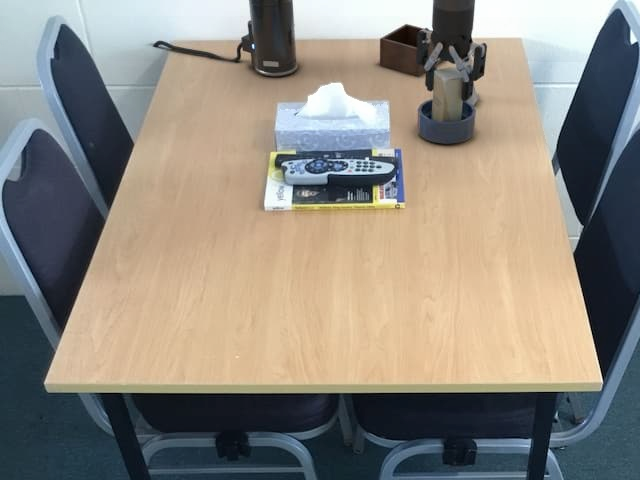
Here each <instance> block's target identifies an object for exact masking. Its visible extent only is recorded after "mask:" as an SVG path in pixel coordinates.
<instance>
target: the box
mask: <svg viewBox="0 0 640 480" xmlns="http://www.w3.org/2000/svg"><path fill="white" fill-rule="evenodd" d="M455 68H456V67H454V66H451V67H445V68H439V69H438V68H437V70H435V71H434V86H433V90H432V99H433V101H432V116H431V119H432V120H436V121H441V122H457V121H461V115H462V104H463V101H462V100H461V97H462V83H463V81H464V79H463V77H462V74H461V73H460V72H459V71H458V70H456V69H455Z"/></svg>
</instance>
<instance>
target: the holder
mask: <svg viewBox="0 0 640 480" xmlns="http://www.w3.org/2000/svg"><path fill="white" fill-rule="evenodd" d="M423 29H425V27H420V26H417V25H412V24H408V23H405V24H403V25H401V26H400V27H398V28H396V29H394V30H393V31H391V32H389V33H388V34H386V35H384V36H382V37H380V38H379V66H382V67H385V68H389V69H392V70H396V71H398V72H401V73H405V74H409V75H412V76H416V77H420V76H421V75H424V73H425V74H426V70H425V68H424V67H423V66H422V65H418V64H417V33H418V32H420V31H421V30H423ZM429 31H431V32H432V31H433V30H430V29H429ZM434 49H435V48H434V46H433V44H432V42H431V41H430V42H429V57H430V55H431V54H432V52H433V51H434ZM440 63H443V61H442V60H441V59H440V60H439V62H438V63H437V65H439V64H440Z"/></svg>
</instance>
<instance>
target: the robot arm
mask: <svg viewBox="0 0 640 480" xmlns="http://www.w3.org/2000/svg"><path fill="white" fill-rule="evenodd" d="M248 5H249V6H248V7H249V15H250V16H249V17H250V20H248V21H247V32H248V33H247V34H245V35H244V36H241V38H240V39H241V40H240V41H241V42H240V43H239V44H238V45H237V47H236V57H235V58H233V59H231V58H230V59H228V58H224V57H223V56H220V55H218V54H216V53H213V52H209V51H204V50H199V49H192V48H187V47H181V46H177V45H173V44H171V43H168V42H167V41H164V40H156V42H154V44H153V45H152V47H153V48H158V46H164V47H166V48H168V49H171V50H173V51H176V52H183V53H188V54H194V55H200V56H206V57H210V58H213V59H214V60H217V61H223V62H230V63H238V62H239V61H240V60H241V58H242V52H246V53H249V54H250V59H251V60H250V61H251V68H252V69H254V70H255V71H256V73H258V74H259V75H262V76H265V77H284V76H288V75H291V74H293V73H295V72H296V71H297V69H298V61H297V60H298V59H297V46H296V30H295V15H294V13H295V12H294V0H248ZM475 5H476V0H432V15H431V16H432V17H431V28H432V30H431V31H432V32H431V31H429V30H430V29H429V27H424V29H423V30H421V31H420V32H418V33H417V64H418V65H422V66H423V67H424V68H425V70H426V72H425V78H424V80H425V81H424V85H425V88H426V90H427V91H428V92H433V86H434V71H435V70H438V68H437V65H438V64H437V63H438V62H439V60H440V59H441V60H442V62H449V63H450V64H452V65H455V67H456V66H457V69H458V70H459V71H460V72H461V74H462V77H463V79H464V81H463V83H462V97H461V100H462V101H467V100H468V99H469V98H470V97H471V96H472V94H473V85H474V86H475V82H477V81H478V80H479V79H481V78H483V77H484V76H485V70H486V60H487V51H488V45H487V44H486V42H482V43H481V44H480V43H477V42H474V40H473V37H472V36H473V35H472V34H473V30H474V22H475V8H476V6H475ZM430 41H431V42H432V44H433V46H434V48H435V49H434V51H433V52H432V54H431V55H430V57H429V42H430ZM241 49H242V52H241ZM470 50H471V51H472V54H471V57H470V54H469V51H470ZM472 57H473V60H472ZM463 59H464V63H463V62H462V60H463Z"/></svg>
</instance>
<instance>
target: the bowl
mask: <svg viewBox="0 0 640 480" xmlns="http://www.w3.org/2000/svg"><path fill="white" fill-rule="evenodd" d="M432 101H433V98H431V99H428V100H425V101H423V102H422V103H420V104H419V106H418V108H417V122H416V124H417V125H416V126H417V127H416V130H417V132H418V135H419V136H420V137H422V138H423V139H424V140H427V141H430V142H433V143H436V144H444V145H445V144H446V145H449V144H459V143H461V142H464V141H468V140H469V139H470V138H471V137H473V135H474V133H475V129H476V128H475V127H476V117H477V116H476V115H477V110H476V107H475V105H474V106H473V105H472V104H470V103H469V102H467V101H463V104H462V115H461V121H457V122H441V121H436V120H432V119H431V116H432Z"/></svg>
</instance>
